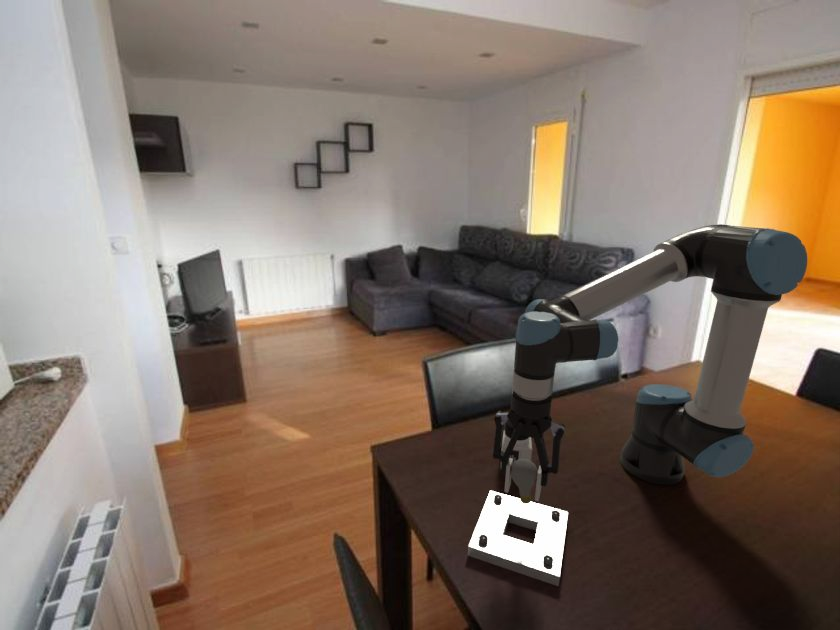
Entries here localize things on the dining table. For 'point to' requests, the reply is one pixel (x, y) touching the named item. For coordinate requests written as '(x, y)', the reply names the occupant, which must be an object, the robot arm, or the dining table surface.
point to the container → (517, 444)
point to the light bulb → (524, 478)
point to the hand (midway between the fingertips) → (522, 492)
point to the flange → (514, 553)
